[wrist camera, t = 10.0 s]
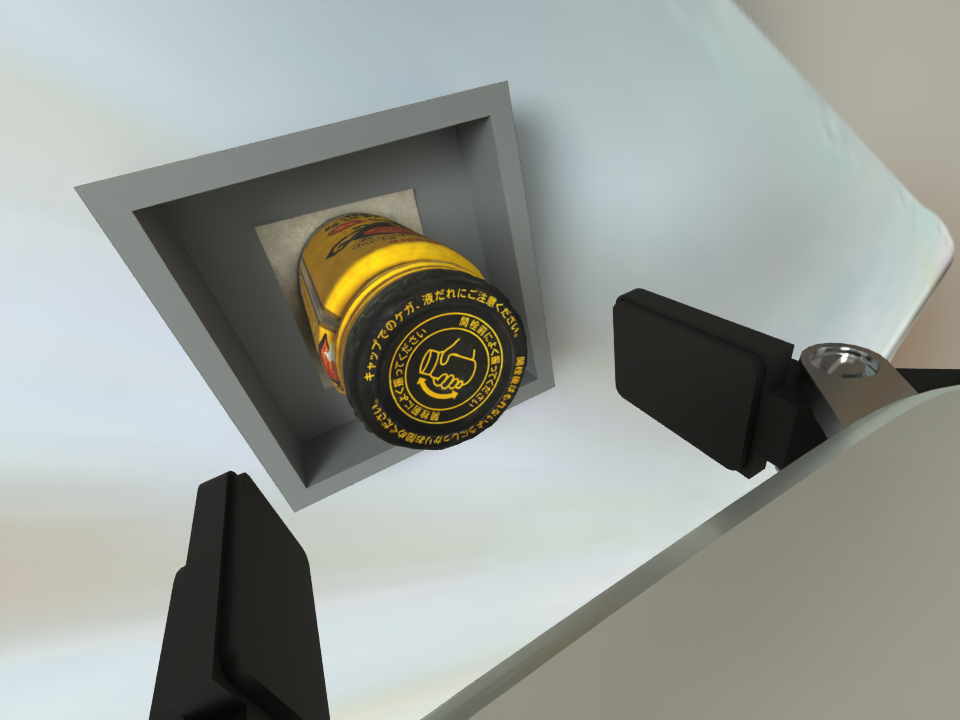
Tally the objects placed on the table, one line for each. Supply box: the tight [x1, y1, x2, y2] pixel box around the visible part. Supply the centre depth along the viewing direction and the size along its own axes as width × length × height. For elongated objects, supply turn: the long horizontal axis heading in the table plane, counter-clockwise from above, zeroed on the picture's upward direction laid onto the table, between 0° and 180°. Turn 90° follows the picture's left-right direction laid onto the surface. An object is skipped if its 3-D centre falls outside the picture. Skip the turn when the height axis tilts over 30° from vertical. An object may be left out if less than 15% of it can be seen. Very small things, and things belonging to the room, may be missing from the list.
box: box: [74, 81, 555, 512], centre depth 20 cm, size 15×15×4 cm
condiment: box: [254, 188, 528, 450], centre depth 16 cm, size 7×8×12 cm
